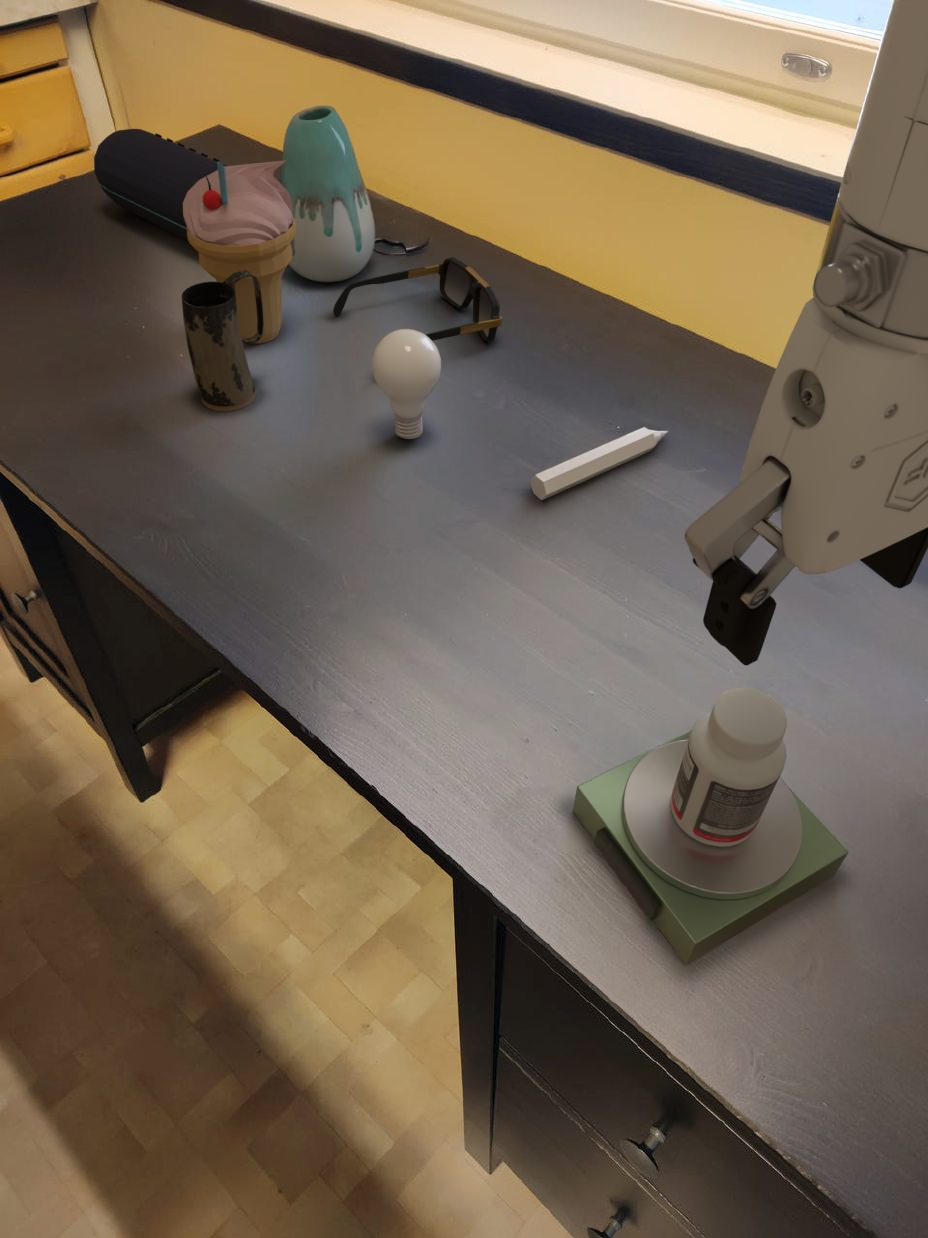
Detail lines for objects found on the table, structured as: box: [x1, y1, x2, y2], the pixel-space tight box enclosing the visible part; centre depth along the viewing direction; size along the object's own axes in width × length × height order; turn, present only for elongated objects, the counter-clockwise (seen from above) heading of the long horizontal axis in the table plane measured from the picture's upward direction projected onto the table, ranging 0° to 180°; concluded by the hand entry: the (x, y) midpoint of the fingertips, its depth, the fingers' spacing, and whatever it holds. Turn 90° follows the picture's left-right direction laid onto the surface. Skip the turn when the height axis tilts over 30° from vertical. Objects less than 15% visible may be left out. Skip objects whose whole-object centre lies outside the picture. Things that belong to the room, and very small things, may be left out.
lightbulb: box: [371, 328, 442, 440], centre depth 86 cm, size 6×6×11 cm
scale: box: [572, 729, 849, 966], centre depth 59 cm, size 12×12×3 cm
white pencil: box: [529, 426, 669, 501], centre depth 87 cm, size 3×2×16 cm
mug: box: [181, 270, 264, 412], centre depth 91 cm, size 8×6×12 cm
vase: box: [279, 105, 376, 283], centre depth 107 cm, size 12×12×18 cm
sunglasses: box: [332, 256, 504, 342], centre depth 102 cm, size 14×15×5 cm
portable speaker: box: [93, 128, 228, 241], centre depth 117 cm, size 25×10×10 cm, turn 49°
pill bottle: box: [671, 687, 788, 847], centre depth 54 cm, size 5×5×10 cm
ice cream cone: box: [183, 160, 296, 345], centre depth 96 cm, size 11×11×20 cm
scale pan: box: [622, 740, 803, 900], centre depth 58 cm, size 11×11×1 cm
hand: (807, 605), depth 45 cm, fingers open, 9 cm apart
